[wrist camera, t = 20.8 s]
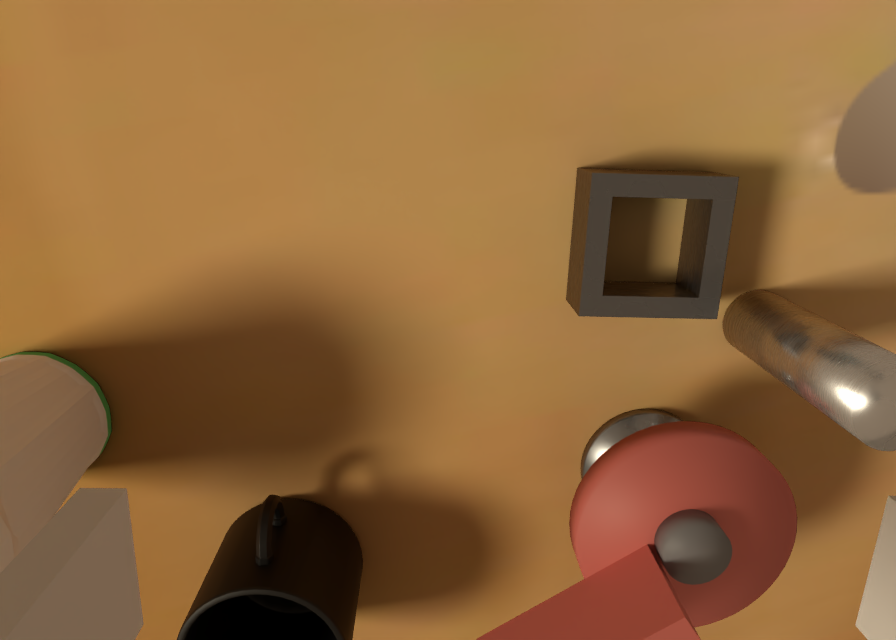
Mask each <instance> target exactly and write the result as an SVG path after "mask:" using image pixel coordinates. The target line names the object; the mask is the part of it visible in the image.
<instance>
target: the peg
mask: <svg viewBox="0 0 896 640" xmlns="http://www.w3.org/2000/svg"><path fill="white" fill-rule="evenodd" d="M723 332H724V335H725V337H726V339H727V341H728V342H729V343H730V344H731V345H732V346H733V347H735V348H736V349H737V350H739V351H740V352H741V353H743V354H744V355H745V356H747V357H748V358H750V359H751V360H752V361H754V362H755V363H756V364H758V365H759V366H760V367H762V368H763V369H764V370H766V371H767V372H768V373H770V374H771V375H773V376H774V377H775V378H777V379H778V380H779V381H781V382H782V383H783V384H785V385H786V386H787V387H789V388H790V389H791V390H793V391H794V392H796V393H797V394H798V395H800V396H801V397H802V398H804V399H805V400H806V401H808V402H809V403H810V404H812V405H813V406H814V407H816V408H817V409H819V410H820V411H821V412H823V413H824V414H825V415H827V416H828V417H829V418H831V419H832V420H833V421H835V422H836V423H837V424H839V425H840V426H842V427H843V428H844V429H846V430H847V431H848V432H850V433H851V434H852V435H854V436H855V437H856V438H858V439H859V440H860V441H862V442H863V443H865V444H866V445H867V446H869V447H871V448H874V449H877V450H881V451H895V450H896V354H894V353H892V352H890V351H888V350H886V349H884V348H882V347H880V346H878V345H876V344H874V343H872V342H870V341H868V340H866V339H864V338H862V337H860V336H858V335H856V334H854V333H852V332H850V331H848V330H846V329H844V328H842V327H840V326H838V325H836V324H834V323H832V322H830V321H828V320H826V319H824V318H822V317H820V316H818V315H816V314H814V313H812V312H810V311H808V310H806V309H804V308H802V307H800V306H798V305H796V304H794V303H792V302H790V301H788V300H786V299H784V298H782V297H780V296H778V295H776V294H774V293H772V292H769V291H766V290H753V291H749V292H746V293H744V294H742V295H740V296H739V297H737V298H736V299H735V300H734V301H733V302H732V303H731V304H730V305H729V307H728V308H727V310H726V312H725V315H724V318H723Z"/></svg>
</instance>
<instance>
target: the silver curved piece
mask: <svg viewBox="0 0 896 640" xmlns="http://www.w3.org/2000/svg"><path fill="white" fill-rule="evenodd" d="M678 421H683V420H682V419H680V418H679V417H677V416H675V415H673V414H671V413H668V412H666V411H662V410H657V409H638V410H632V411H629V412H625V413H623V414H620V415H618V416H616V417H614V418H612V419H610V420H609V421H607V422H606V423H605V424H603V425H602V426H601V427H600V428H599V429H598V430H597V431H596V432H595V433H594V434H593V436H592V437H591V438H590V440H589V442H588V443H587V445H586V447H585V450H584V453H583V456H582V460H581V478H582V479H583V477H584V475H585V474H586V472H587V471H588V470H589V468H590V467H591V466H592V464H593V463H594V462H595V461H596V460H597V459H598V458H599V457H600V456H601V455H602V454H603V453H604V452H605V451H607V450H608V449H609V448H610V447H611V446H613V445H614V444H616V443H617V442H619V441H620V440H622V439H623V438H625V437H627V436H629V435H631V434H633V433H635V432H637V431H640V430H643V429H645V428H648V427H651V426H655V425H659V424H663V423H669V422H678Z"/></svg>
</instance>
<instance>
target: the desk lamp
mask: <svg viewBox="0 0 896 640" xmlns="http://www.w3.org/2000/svg"><path fill="white" fill-rule="evenodd" d="M569 526H570V537H571V541H572V545H573V549H574V552H575V554H576V557H577V560H578V563H579V566H580V569H581V572H582V574H583V576H584V580H582V581H580V582H578V583H577V584H575V585H573V586H571V587H569V588H568V589H566V590H564V591H562V592H560V593H558V594H557V595H555V596H553V597H551V598H549V599H548V600H546V601H544V602H542V603H540V604H539V605H537V606H535V607H533V608H531V609H530V610H528V611H526V612H524V613H522V614H521V615H519V616H517V617H515V618H513V619H512V620H510V621H508V622H506V623H504V624H503V625H501V626H499V627H497V628H495V629H494V630H492V631H490V632H488V633H486V634H485V635H483V636H481V637H479V638H477V639H476V640H700V638H699V636H698V634H697V632H696V630H695V628H694V627H698V626H703V625H707V624H711V623H713V622H716V621H719V620H722V619H724V618H727V617H729V616H731V615H733V614H735V613H737V612H739V611H740V610H742V609H744V608H745V607H747V606H748V605H750V604H751V603H752V602H754V601H755V600H756V599H758V598H759V597H760V596H761V595H762V594H763V593H764V592H765V591H766V590H767V589H768V588H769V587H770V586H771V585H772V584H773V582H774V581H775V580H776V579H777V578H778V576H779V574H780V573H781V571H782V570H783V568H784V567H785V565H786V563H787V561H788V559H789V557H790V554H791V551H792V549H793V546H794V542H795V537H796V532H797V513H796V505H795V502H794V498H793V495H792V492H791V490H790V488H789V486H788V484H787V482H786V480H785V479H784V477H783V476H782V475H781V473H780V472H779V471H778V470H777V469H776V468H775V466H774V465H773V464H772V463H771V462H770V461H769V460H768V459H767V458H766V457H765V456H764V455H763V454H762V453H761V452H760V451H759V450H758V449H757V448H756V447H755V446H754V445H752V444H751V443H750V442H749V441H747V440H746V439H745V438H743V437H742V436H740V435H738V434H736V433H735V432H733V431H731V430H728V429H726V428H723V427H721V426H717V425H713V424H709V423H703V422H695V421H678V422H669V423H663V424H659V425H655V426H651V427H648V428H645V429H643V430H640V431H637V432H635V433H633V434H631V435H629V436H627V437H625V438H623V439H622V440H620V441H619V442H617V443H616V444H614V445H613V446H611V447H610V448H609V449H608V450H607V451H605V452H604V453H603V454H602V455H601V456H600V457H599V458H598V459H597V460H596V461H595V462H594V463H593V464H592V466H591V467H590V468H589V470H588V471H587V472H586V474H585V475H584V477H583V479H582V480H581V482H580V484H579V486H578V488H577V490H576V493H575V496H574V498H573V502H572V506H571V511H570V522H569Z"/></svg>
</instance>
